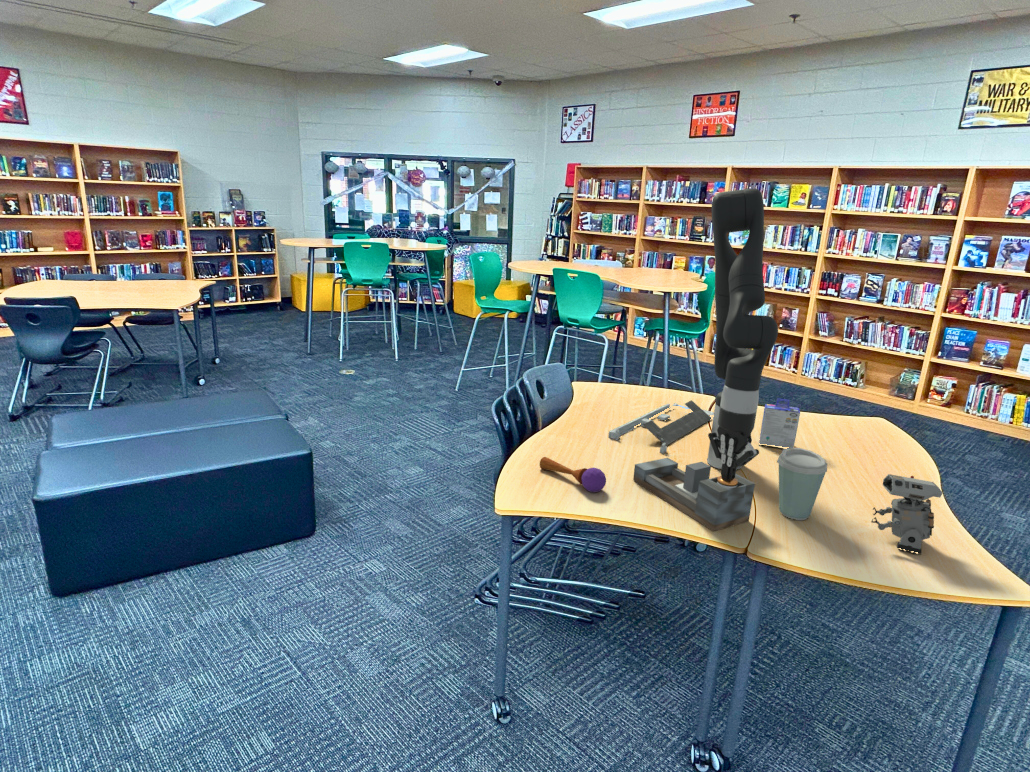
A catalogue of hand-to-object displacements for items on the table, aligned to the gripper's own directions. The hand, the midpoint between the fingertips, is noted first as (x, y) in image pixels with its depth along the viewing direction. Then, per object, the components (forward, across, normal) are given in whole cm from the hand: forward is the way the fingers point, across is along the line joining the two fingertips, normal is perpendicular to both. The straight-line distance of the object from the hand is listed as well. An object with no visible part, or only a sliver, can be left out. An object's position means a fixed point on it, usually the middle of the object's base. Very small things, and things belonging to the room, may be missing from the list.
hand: (727, 479), depth 138 cm
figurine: (+10, -23, -29) cm, 39 cm away
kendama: (+11, +31, +20) cm, 39 cm away
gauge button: (+3, 0, 0) cm, 3 cm away
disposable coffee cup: (+10, -5, -18) cm, 22 cm away
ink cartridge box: (+10, +27, -51) cm, 59 cm away
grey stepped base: (+10, +11, 0) cm, 15 cm away
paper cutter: (+11, +52, -31) cm, 62 cm away
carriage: (+8, +9, 0) cm, 12 cm away
